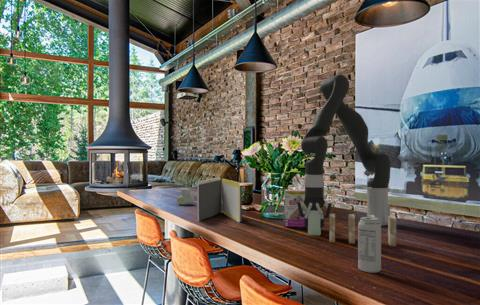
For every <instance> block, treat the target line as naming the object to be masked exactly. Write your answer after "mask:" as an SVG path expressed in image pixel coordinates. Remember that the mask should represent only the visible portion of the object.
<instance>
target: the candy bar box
mask: <svg viewBox="0 0 480 305" xmlns="http://www.w3.org/2000/svg"><path fill="white" fill-rule="evenodd" d="M304 199H305V189H284V191H283V227H284V228H306V226H305V218H304V217H301V216H300V213H299V209H298V205H297V203H298V202H302V201H304ZM307 209H308V208H307V207H306V206H305V204H303V207H302V210H303V214H306V211H307ZM306 229H307V228H306Z"/></svg>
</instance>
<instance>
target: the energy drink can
mask: <svg viewBox="0 0 480 305" xmlns="http://www.w3.org/2000/svg"><path fill="white" fill-rule="evenodd" d="M357 224H358V225H357V254H358V255H357V257H358V259H357V268H358V270H360V271H362V272H364V273H368V274H376V273H380V272H381V271H382V226H381V224H380V222H379V219H378V218H375V217H367V216H361V217H360V219H359V221H358V223H357Z"/></svg>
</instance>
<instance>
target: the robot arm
mask: <svg viewBox="0 0 480 305" xmlns="http://www.w3.org/2000/svg"><path fill="white" fill-rule="evenodd" d="M349 89H350V81H349V80H348V77H347V76H346V75H344V74H337V75H334V76H331V77H329V78H326V79H324V80H322V81H321V82H320V91H321V93H322V95H323V98H324V99H325V100H326V102H325V103H324V104H323V106H321V108H320V109H319V110H318V112H317V113H316V115H315V117H314V120H313V123H312V126H311V127H310V129H308V131H307V132H306V133H305V135H304V136H303V138H302V140H301V142H300V146H301V147H300V148H301V151H302V152H303V153H304V154H307V155H311V154H312V155H314V157H313V158H312V159H309V160H306V162H305V178H304V190H305V199H304V201H302V202H298V203H297V205H298V209H299V213H300V216H301V217H304V218H305V226H306V229H308V215H309V212H310V210H313V211H318V212H319V214H320V217H321V219H320V228H321V229H323V228H324V226H325V219H328V218H329V214H330V213H331V209H332V202H327V201H326V200H325V199H324V197H325V195H324V194H325V182H324V181H325V180H324V163H325V159H326V156H327V155H326V154H327V151H328V149H329V148H328V146H329V144H328V140H327V139H326V137H325V136H327V135H328V134H329V131H330V128H331V125H332V124H333V120H334V118H335V115H336V116H337V118H338V120H339V121H340V123H341V125H342V126H343V128H344V130H345V132H346V134H347V136H348V137H349V139H350V140H351V143H352V145H353V146H354V148H355V150H356V152H357V154H358V156H359V159H360V161H361V164H362V165H363V168H364V169H365V170H366V171H367V172H369V173H373V174H374V177H373V178H372V179H369V180H367V183H366V212H367V213H366V217H368V215H374V216H375V218H378V219H379V222H380V224H381V227H382V226H383V227H384V226H385V227H386V226H388V216H391V204H390V203H389V184H390V179H391V159H390V157H389V155H388V154H387V153H382V152H379V153H378V152H377V153H375V152H374V151H373V150H372V148H371V146H370V145H369V128H368V125H367V123H366V121H365V120H364V118H363V117H362V114H360V113H359V112H358V111H356V110H354V109H353V108H351V107H350V106H348V105H347V104H346V103H345V102H344V99H345V98H346V96H347V94H348V92H349ZM303 204H305V206H306V207H307V208H308V209H307V211H306V214H303V210H302V207H303ZM324 205H325V208H326V211H325V214H324V213H323V210H322V208H323V207H324Z"/></svg>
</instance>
